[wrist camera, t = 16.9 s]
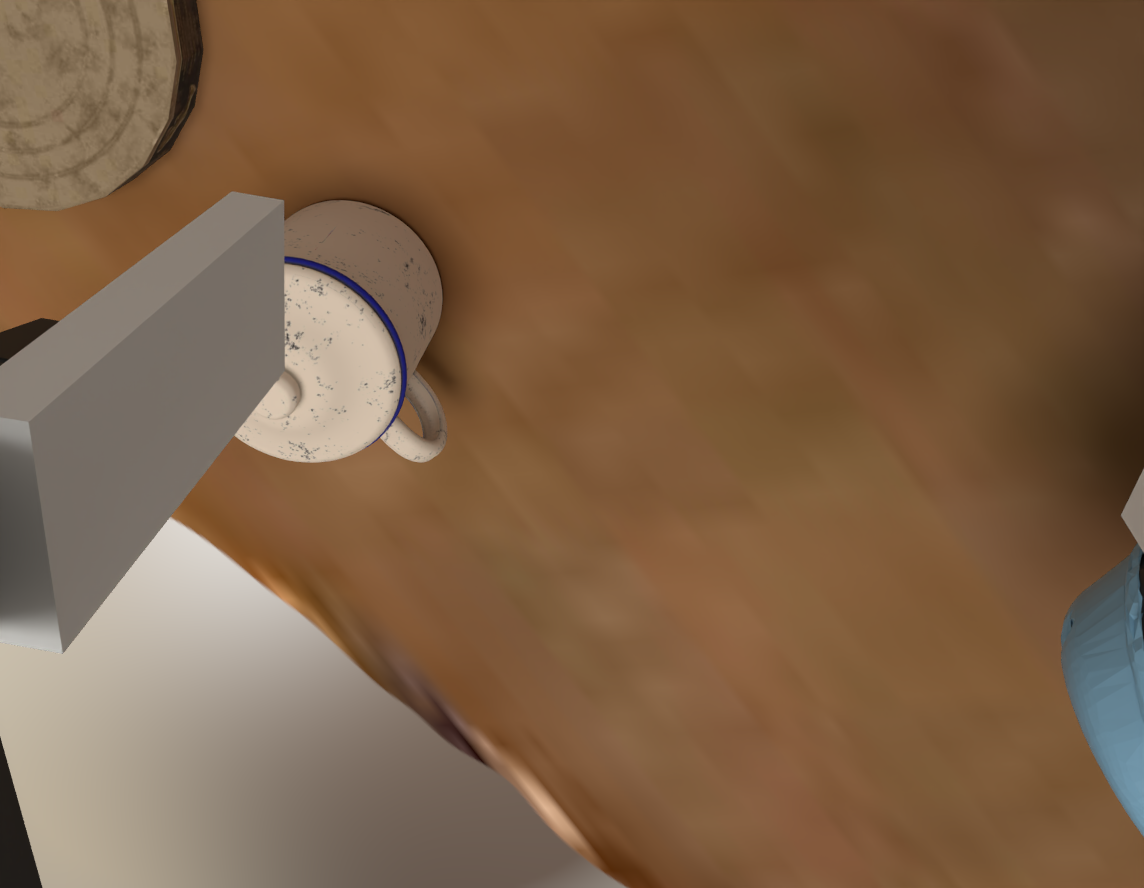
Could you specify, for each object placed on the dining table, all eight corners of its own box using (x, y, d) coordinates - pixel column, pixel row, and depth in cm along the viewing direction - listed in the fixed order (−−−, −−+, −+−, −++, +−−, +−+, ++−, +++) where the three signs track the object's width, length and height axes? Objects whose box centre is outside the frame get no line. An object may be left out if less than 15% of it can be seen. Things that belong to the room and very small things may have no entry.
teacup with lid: (223, 271, 50) (104, 380, 40) (351, 151, 47) (255, 237, 37) (398, 445, 54) (330, 583, 44) (529, 346, 51) (487, 472, 41)
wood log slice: (279, 21, 45) (253, 32, 42) (80, 258, 51) (47, 281, 49) (-45, -309, 40) (-97, -318, 37) (-219, 0, 46) (-273, 9, 44)
